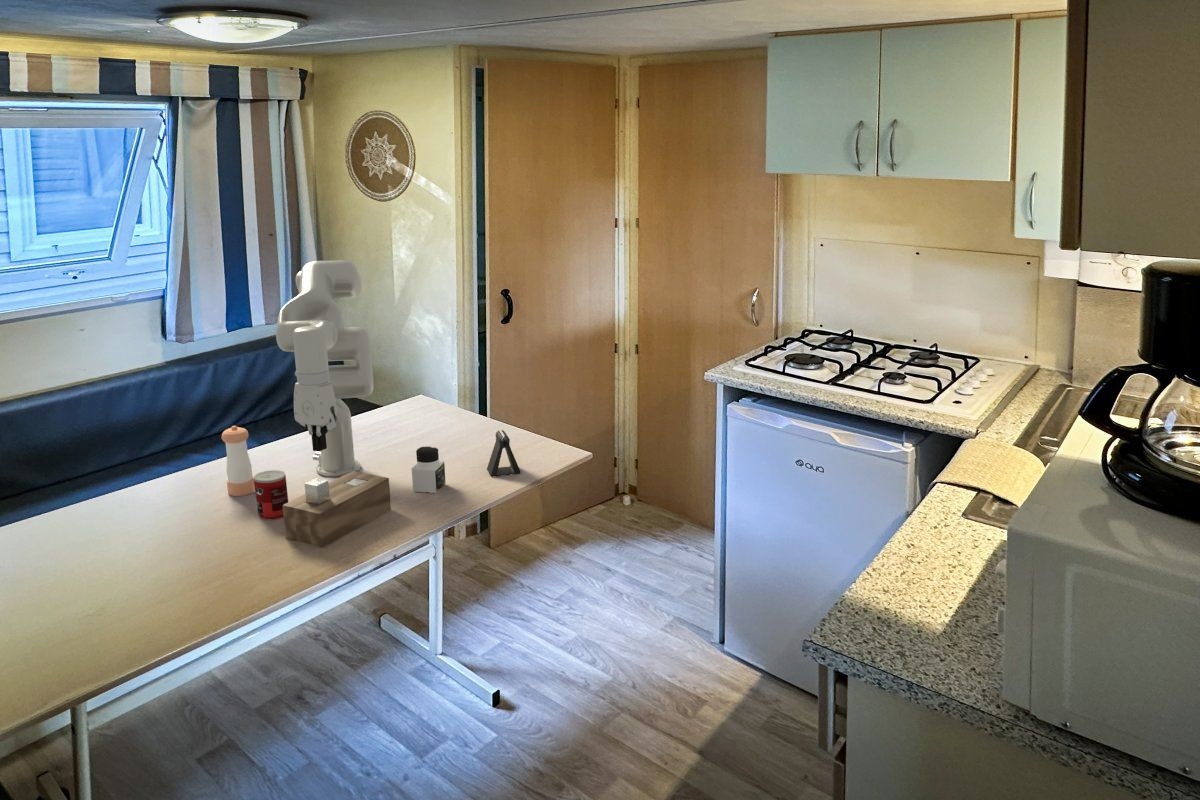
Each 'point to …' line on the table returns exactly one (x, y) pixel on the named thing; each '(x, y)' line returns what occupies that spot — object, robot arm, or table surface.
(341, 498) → the walnut block
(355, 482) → the pin
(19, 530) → the table surface
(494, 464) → the phone stand
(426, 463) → the medicine bottle
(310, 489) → the pin
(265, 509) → the canned food
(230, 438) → the pepper shaker
